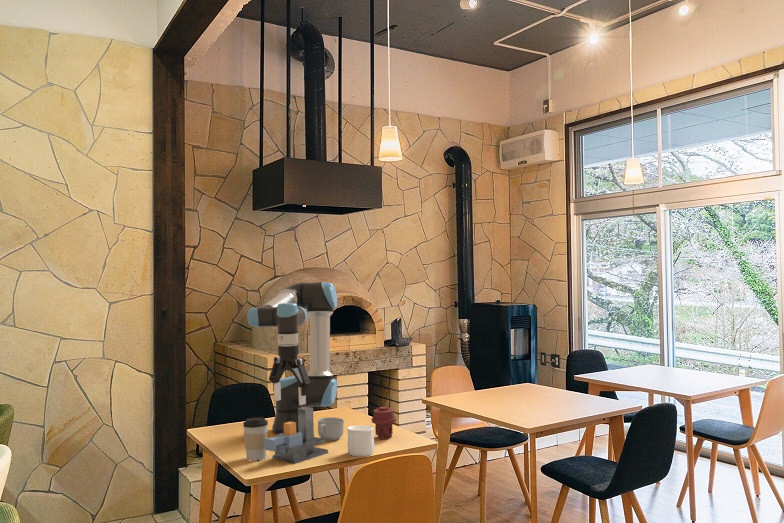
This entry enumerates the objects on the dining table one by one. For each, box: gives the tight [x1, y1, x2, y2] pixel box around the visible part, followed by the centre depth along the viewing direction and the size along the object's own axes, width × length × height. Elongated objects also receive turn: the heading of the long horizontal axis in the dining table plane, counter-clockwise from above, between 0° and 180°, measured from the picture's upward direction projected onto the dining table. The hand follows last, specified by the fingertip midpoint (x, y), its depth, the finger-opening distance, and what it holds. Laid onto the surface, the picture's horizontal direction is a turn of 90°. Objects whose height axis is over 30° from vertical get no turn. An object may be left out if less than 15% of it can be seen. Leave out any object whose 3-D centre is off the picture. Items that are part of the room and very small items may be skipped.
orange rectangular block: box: [284, 422, 296, 436], centre depth 235 cm, size 3×3×12 cm
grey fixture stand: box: [272, 406, 329, 465], centre depth 239 cm, size 12×17×17 cm
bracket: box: [265, 432, 302, 454], centre depth 232 cm, size 6×13×6 cm, turn 141°
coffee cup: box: [242, 416, 269, 462], centre depth 237 cm, size 9×9×15 cm
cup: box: [346, 424, 375, 457], centre depth 240 cm, size 10×10×10 cm
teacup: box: [317, 416, 345, 442], centre depth 262 cm, size 14×11×8 cm
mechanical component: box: [371, 406, 397, 440], centre depth 263 cm, size 12×10×10 cm
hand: (289, 402), depth 236 cm, fingers open, 13 cm apart
